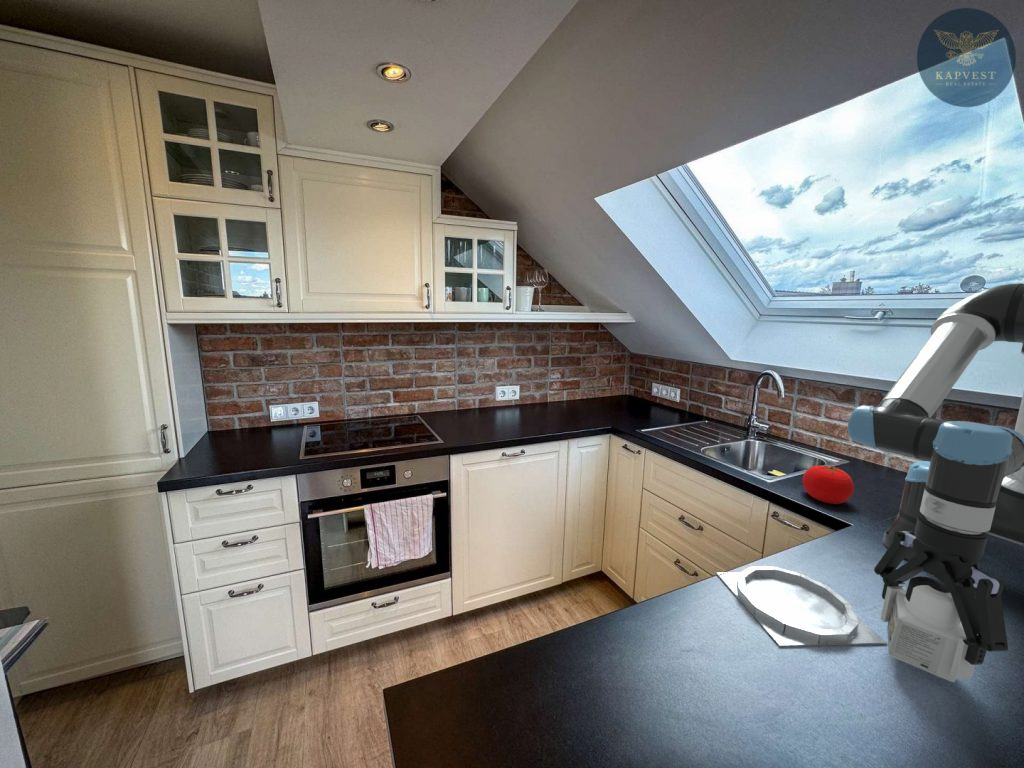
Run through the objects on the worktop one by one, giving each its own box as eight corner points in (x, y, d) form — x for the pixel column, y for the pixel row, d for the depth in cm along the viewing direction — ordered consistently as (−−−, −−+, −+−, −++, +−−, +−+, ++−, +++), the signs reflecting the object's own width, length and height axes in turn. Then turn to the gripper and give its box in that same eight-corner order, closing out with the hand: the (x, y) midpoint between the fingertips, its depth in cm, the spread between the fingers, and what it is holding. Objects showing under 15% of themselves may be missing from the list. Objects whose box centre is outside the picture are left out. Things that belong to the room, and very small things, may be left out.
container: (886, 627, 75) (904, 564, 71) (947, 651, 70) (969, 585, 67) (887, 656, 69) (907, 588, 66) (954, 684, 64) (979, 613, 61)
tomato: (821, 509, 125) (828, 474, 123) (792, 490, 138) (797, 458, 136) (860, 510, 125) (867, 475, 123) (827, 491, 138) (833, 459, 136)
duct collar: (802, 573, 94) (803, 565, 93) (886, 644, 74) (889, 634, 74) (716, 574, 92) (717, 565, 92) (779, 647, 73) (781, 637, 72)
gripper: (862, 489, 75) (841, 597, 80) (1025, 570, 53) (983, 715, 57) (901, 488, 76) (878, 596, 80) (1079, 569, 53) (1033, 712, 58)
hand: (922, 645), depth 69 cm, fingers closed on container, 11 cm apart
